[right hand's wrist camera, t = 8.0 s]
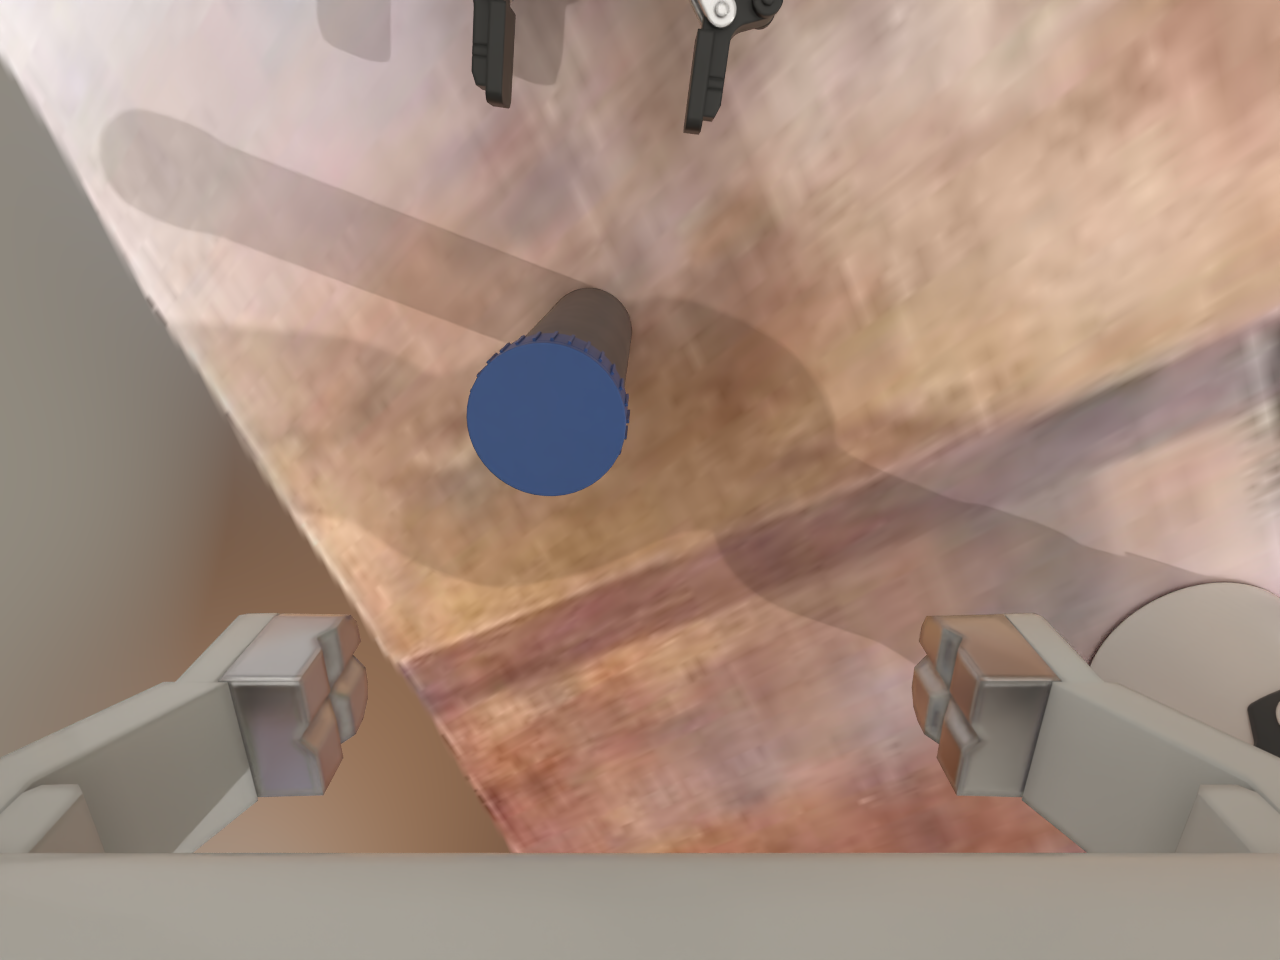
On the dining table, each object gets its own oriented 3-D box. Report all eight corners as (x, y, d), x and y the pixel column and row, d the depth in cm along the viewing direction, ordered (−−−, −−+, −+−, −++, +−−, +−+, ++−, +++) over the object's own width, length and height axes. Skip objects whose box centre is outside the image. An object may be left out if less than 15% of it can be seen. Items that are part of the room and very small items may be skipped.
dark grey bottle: (623, 379, 42) (605, 497, 25) (542, 363, 42) (468, 471, 25) (639, 297, 41) (631, 363, 23) (555, 280, 40) (485, 334, 23)
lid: (614, 491, 27) (611, 511, 25) (468, 463, 26) (455, 482, 24) (643, 348, 25) (643, 358, 23) (486, 316, 24) (474, 324, 23)
